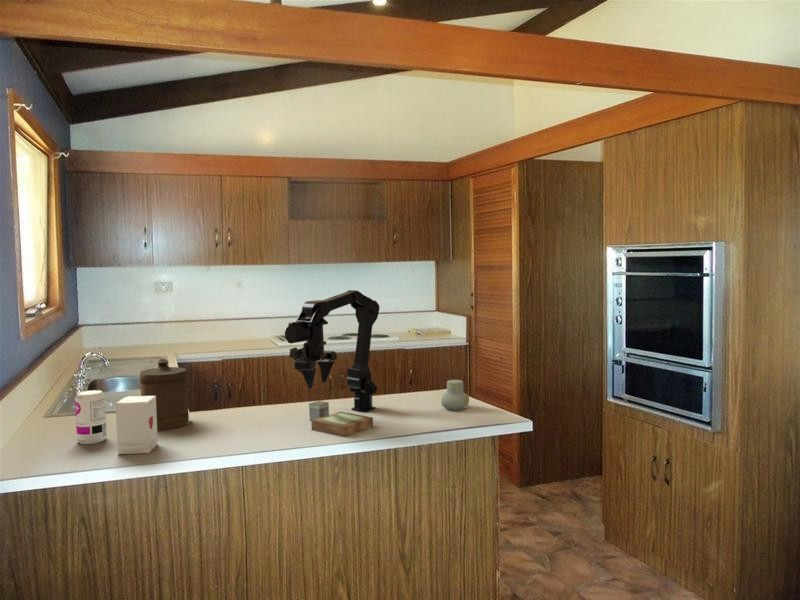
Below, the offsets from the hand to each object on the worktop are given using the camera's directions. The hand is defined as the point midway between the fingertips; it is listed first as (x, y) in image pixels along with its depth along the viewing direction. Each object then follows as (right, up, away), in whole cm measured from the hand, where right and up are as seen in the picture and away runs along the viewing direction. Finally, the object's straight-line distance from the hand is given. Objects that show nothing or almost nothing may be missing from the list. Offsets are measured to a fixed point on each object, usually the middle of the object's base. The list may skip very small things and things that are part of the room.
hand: (317, 385), depth 213 cm
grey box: (0, -12, +3) cm, 12 cm away
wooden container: (-51, -13, 0) cm, 52 cm away
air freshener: (+48, -11, +17) cm, 52 cm away
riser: (+9, -13, -7) cm, 17 cm away
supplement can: (-66, -15, -18) cm, 70 cm away
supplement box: (-48, -15, -27) cm, 58 cm away
